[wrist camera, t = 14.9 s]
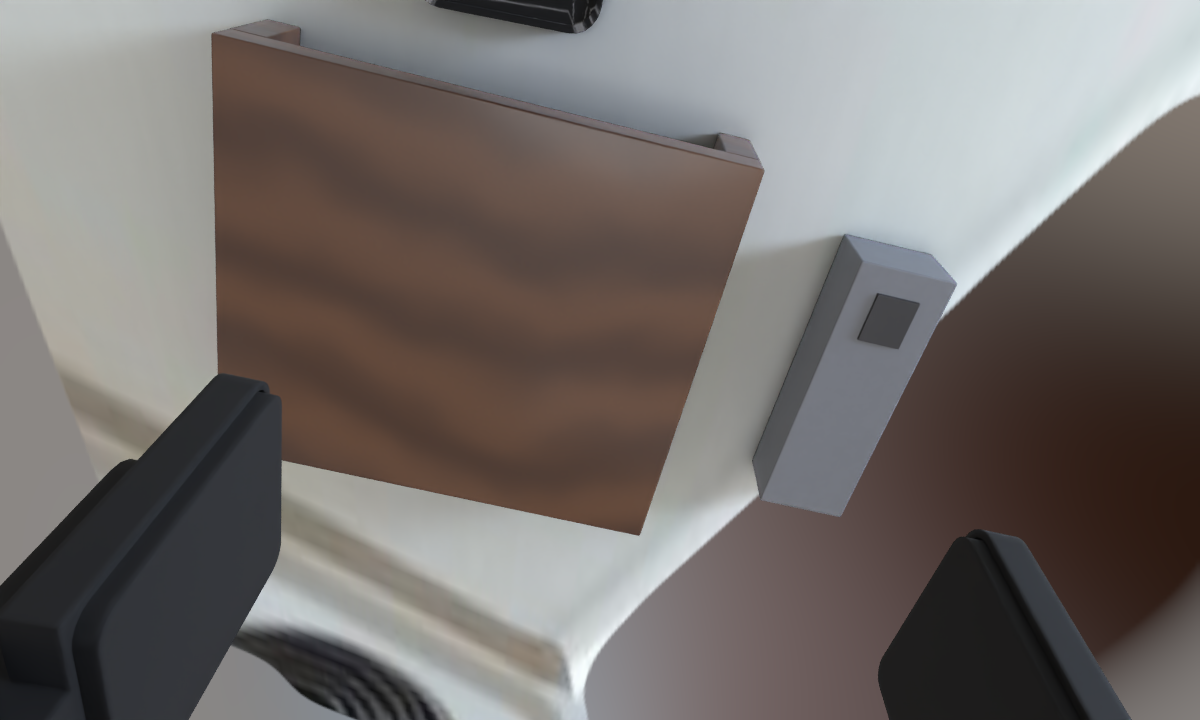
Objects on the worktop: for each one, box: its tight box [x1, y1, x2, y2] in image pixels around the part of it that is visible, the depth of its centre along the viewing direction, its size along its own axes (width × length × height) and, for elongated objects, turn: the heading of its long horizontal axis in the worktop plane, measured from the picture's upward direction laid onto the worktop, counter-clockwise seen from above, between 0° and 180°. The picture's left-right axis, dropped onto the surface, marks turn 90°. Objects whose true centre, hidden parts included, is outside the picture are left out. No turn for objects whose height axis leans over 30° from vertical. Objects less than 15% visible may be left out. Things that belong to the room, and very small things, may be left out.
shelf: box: [211, 19, 764, 536], centre depth 37 cm, size 20×22×5 cm
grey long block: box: [752, 234, 957, 517], centre depth 39 cm, size 14×4×4 cm, turn 167°
